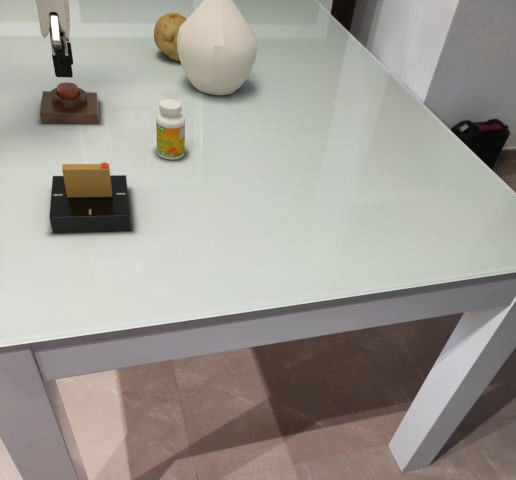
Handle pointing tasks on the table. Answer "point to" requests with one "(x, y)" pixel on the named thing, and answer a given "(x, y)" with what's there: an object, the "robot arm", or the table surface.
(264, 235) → the table surface
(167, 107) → the supplement bottle
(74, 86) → the red short cylinder
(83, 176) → the dial pointer knob
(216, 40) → the vase
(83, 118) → the brown square block
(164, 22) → the potato
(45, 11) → the robot arm
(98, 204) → the dial pointer knob base
